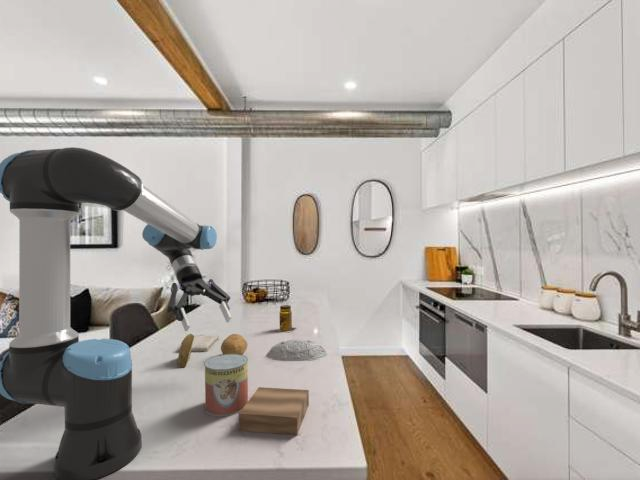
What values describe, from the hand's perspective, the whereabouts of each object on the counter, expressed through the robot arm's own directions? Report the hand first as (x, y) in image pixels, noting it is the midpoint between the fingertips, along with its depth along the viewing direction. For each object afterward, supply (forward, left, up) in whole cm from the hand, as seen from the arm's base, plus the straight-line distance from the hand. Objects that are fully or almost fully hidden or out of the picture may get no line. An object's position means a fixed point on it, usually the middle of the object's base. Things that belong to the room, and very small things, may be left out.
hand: (209, 324), depth 102 cm
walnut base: (-14, -25, -19) cm, 35 cm away
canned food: (-10, -10, -19) cm, 24 cm away
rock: (+18, +20, -19) cm, 33 cm away
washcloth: (+38, +24, -20) cm, 49 cm away
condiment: (+66, -7, -19) cm, 69 cm away
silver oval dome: (+32, -20, -20) cm, 42 cm away
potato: (+25, +3, -19) cm, 31 cm away
